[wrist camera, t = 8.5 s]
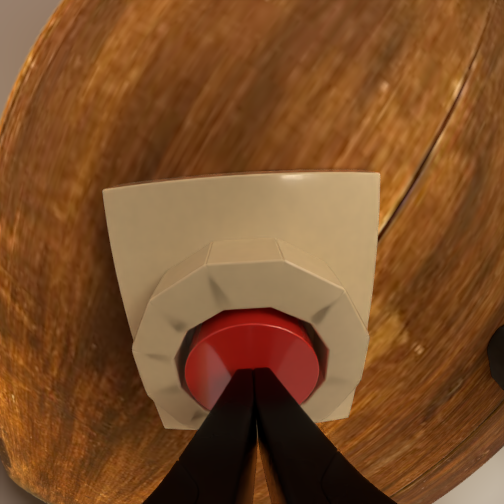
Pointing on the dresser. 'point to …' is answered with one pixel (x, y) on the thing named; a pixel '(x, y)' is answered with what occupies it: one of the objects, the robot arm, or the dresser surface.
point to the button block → (246, 271)
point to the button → (250, 352)
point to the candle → (497, 356)
